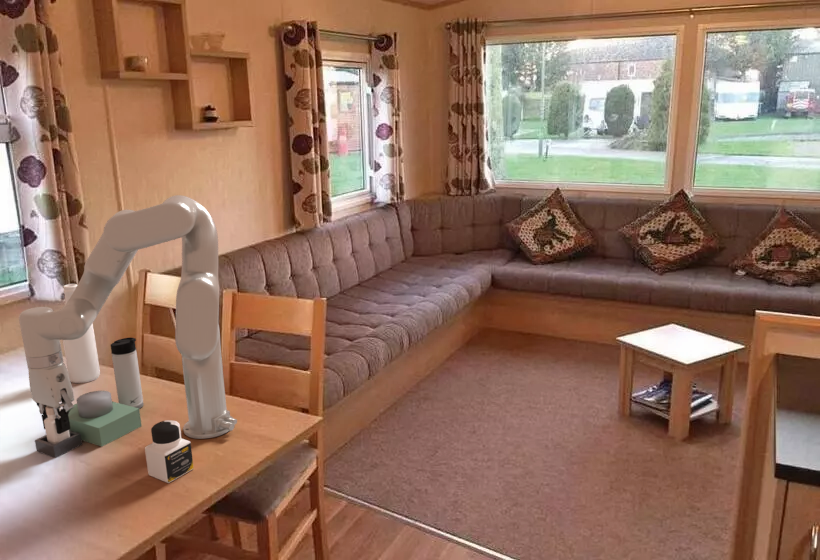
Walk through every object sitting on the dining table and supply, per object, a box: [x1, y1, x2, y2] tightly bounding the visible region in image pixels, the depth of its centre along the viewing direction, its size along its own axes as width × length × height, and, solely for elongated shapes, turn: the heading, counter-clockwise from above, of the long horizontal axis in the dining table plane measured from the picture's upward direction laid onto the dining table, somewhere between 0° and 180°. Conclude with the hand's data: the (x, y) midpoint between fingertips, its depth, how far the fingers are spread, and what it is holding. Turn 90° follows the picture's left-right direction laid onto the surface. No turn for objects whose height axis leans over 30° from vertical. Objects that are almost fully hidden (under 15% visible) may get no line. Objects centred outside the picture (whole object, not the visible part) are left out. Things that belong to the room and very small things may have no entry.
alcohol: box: [62, 283, 101, 384], centre depth 201 cm, size 9×9×30 cm
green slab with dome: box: [68, 390, 143, 448], centre depth 170 cm, size 18×12×9 cm, turn 62°
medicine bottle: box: [144, 419, 194, 484], centre depth 148 cm, size 7×7×12 cm
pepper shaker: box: [44, 406, 70, 444], centre depth 160 cm, size 4×4×10 cm
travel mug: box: [110, 337, 144, 410], centre depth 181 cm, size 6×7×20 cm
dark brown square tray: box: [34, 430, 83, 459], centre depth 161 cm, size 7×7×3 cm
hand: (57, 428), depth 161 cm, fingers closed on pepper shaker, 4 cm apart
